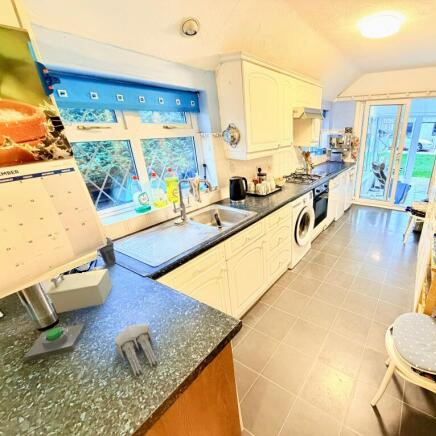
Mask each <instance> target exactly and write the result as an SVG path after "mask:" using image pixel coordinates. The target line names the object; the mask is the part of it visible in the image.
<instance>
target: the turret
mask: <svg viewBox="0 0 436 436" xmlns="http://www.w3.org/2000/svg"><path fill="white" fill-rule="evenodd" d="M113 339H114V345H115V348H116V351H117V353H118V355H119V356H120V357H121V358H122V360H123V361H124V362H125V357H126V358H127V360H128V362H129V365H130V367H131V370H132V372H133V374H134V377H135V378H138V377H137V375H138V376H139V375H140V373H141V374H143V373H144V372H143V369H142V366H141V363H140V361H139V359H138V356H137V352H136V351H137V350H138V351H139V350H140V349H142V351H143V353H144V354H145V356H146V358H147V361H148V364H149V365H150V367H151V368H153V366H156V365H159V361H158V359H157V356H156V355H155V353H154V350H153V348H152V345H154V338H153V333H152V331H151V328H150V326H149V324H148V323H146V322H143V323H138V324H131V325H127V326H126V327H125V328H124V329H123V330H121V332H120V333H118V334H117V335H116V336H115V337H114V338H113ZM151 344H152V345H151ZM139 348H140V349H139ZM136 349H137V350H136ZM124 356H125V357H124Z"/></svg>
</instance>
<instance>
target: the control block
mask: <svg viewBox="0 0 436 436" xmlns="http://www.w3.org/2000/svg"><path fill="white" fill-rule="evenodd" d="M59 328H60V329H61V331H62V335H60V336H59V337H58V338H56V339H53V340H48V339H47V337H46V333H47V332H48V331H43V332H41V334H40V335H39V336H38V338H37V339H36V341H34V343H33V344H32V346H31V347H30V348H29V349H28V351H27V352H26V353H25V355H24V356H23V358H24V360H25V362H26V363H28V362H33V361H37V360H41V359H44V358H48V357H52V356H56V355H61V354H65V353H69V352H72V351H75V349H76V348H77V346H78V344H79V342H80V340H81V338H82V336H83V335H84V333H85V330H86V329H87V327H86V325H85V323H81V324H80V323H79V324H76V325H71V326H67V327H64V326H61V327H59Z"/></svg>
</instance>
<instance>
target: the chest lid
mask: <svg viewBox="0 0 436 436" xmlns="http://www.w3.org/2000/svg"><path fill="white" fill-rule="evenodd" d="M107 271H108V272H109V270H108V268H102V269H95V270H88V271H86V272H82V273H78V272H75V273H70V274H65V272H64V273H63V274H61V275H59V276H57V277H54V276H53V277H54V278H53V277H52V278H51V279H50V282H51V283H53V285H52V286H51V287H50V288H49V289H48V290H47V291H46V293H45V296H49V295H51V294H57V293H63V292H69V291H75V290H81V289H87V288H92V287H98V286H99V284H100V282H101V281H102V279H103V277H104V276H105V274H106V272H107ZM59 278H60V280H58V279H59Z"/></svg>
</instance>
